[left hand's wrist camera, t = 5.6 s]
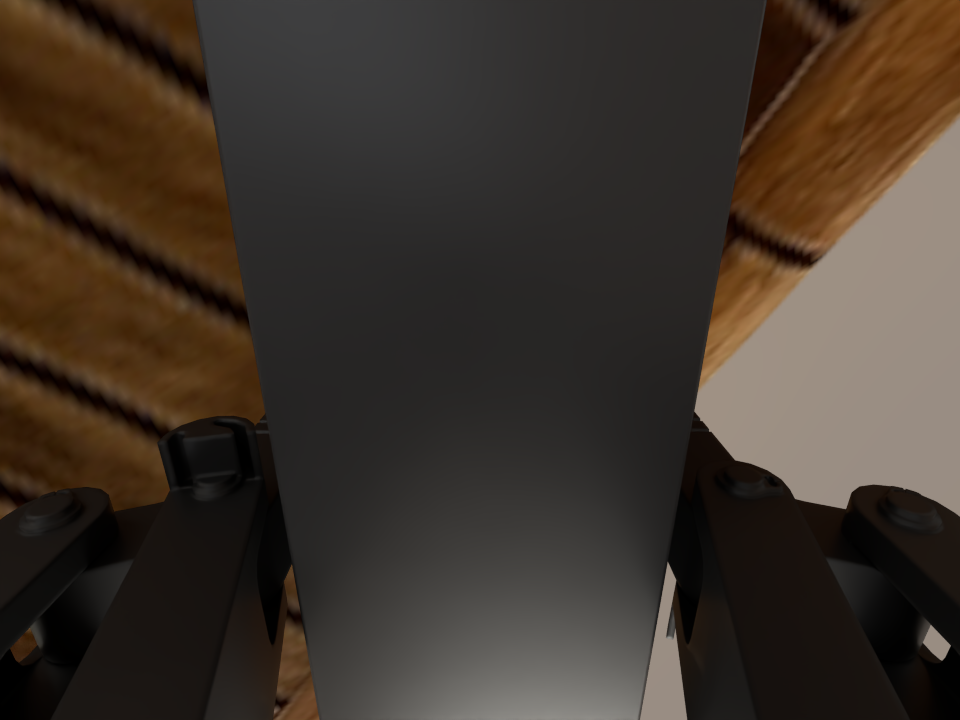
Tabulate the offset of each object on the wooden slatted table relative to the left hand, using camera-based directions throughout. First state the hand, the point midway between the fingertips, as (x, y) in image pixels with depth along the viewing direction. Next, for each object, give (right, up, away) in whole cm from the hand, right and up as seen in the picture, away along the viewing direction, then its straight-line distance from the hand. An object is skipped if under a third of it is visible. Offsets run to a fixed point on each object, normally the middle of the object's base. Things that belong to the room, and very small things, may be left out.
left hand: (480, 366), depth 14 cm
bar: (0, +11, -4) cm, 11 cm away
